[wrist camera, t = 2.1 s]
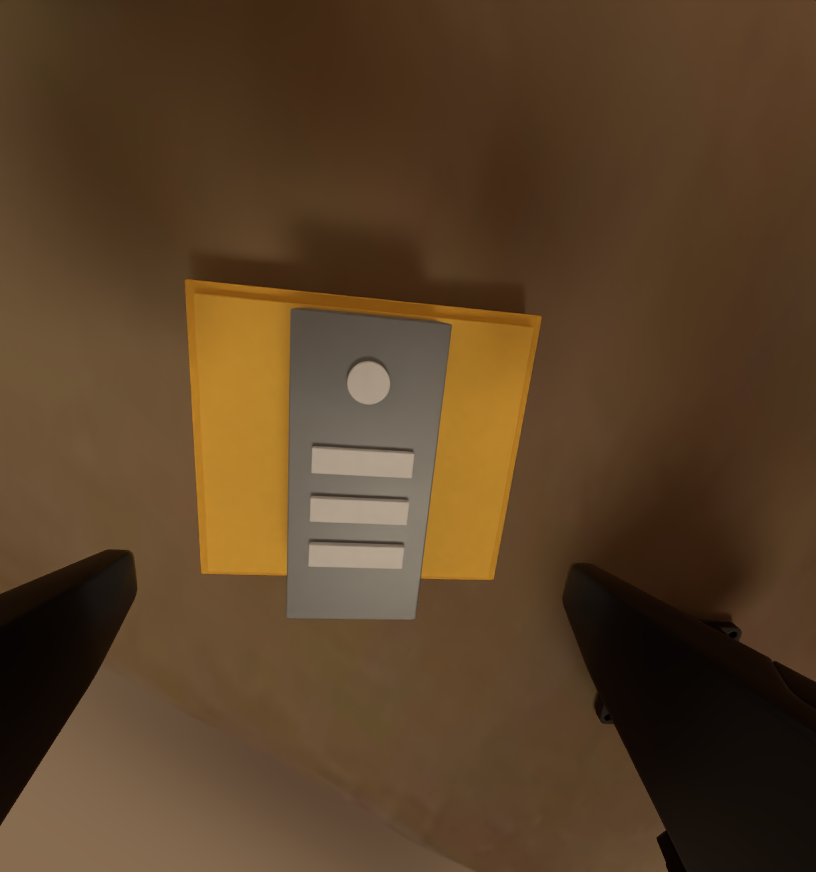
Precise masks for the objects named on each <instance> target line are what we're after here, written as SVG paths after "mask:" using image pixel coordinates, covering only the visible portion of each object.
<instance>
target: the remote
mask: <svg viewBox="0 0 816 872" xmlns="http://www.w3.org/2000/svg"><path fill="white" fill-rule="evenodd" d="M451 330H452V325H451V324H448V323H444V322H440V321H436V320H426V319H416V318H406V317H396V316H386V315H375V314H365V313H355V312H345V311H335V310H325V309H315V308H293V309H291V310H290V375H289V450H288V524H287V598H286V618H288V619H384V620H415V619H416V612H417V604H418V596H419V588H420V580H421V572H422V564H423V556H424V548H425V540H426V532H427V524H428V516H429V508H430V500H431V492H432V484H433V476H434V467H435V459H436V451H437V443H438V435H439V427H440V419H441V411H442V403H443V395H444V387H445V379H446V371H447V363H448V355H449V347H450V339H451Z"/></svg>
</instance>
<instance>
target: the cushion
mask: <svg viewBox="0 0 816 872" xmlns="http://www.w3.org/2000/svg"><path fill="white" fill-rule="evenodd" d="M185 293H186V311H187V328H188V346H189V364H190V381H191V399H192V417H193V434H194V452H195V469H196V487H197V505H198V522H199V540H200V558H201V573H202V574H243V575H287V524H288V450H289V375H290V310H291V309H293V308H315V309H325V310H335V311H345V312H355V313H365V314H375V315H386V316H396V317H406V318H416V319H426V320H436V321H440V322H444V323H448V324H451V325H452V330H451V339H450V347H449V355H448V363H447V371H446V379H445V387H444V395H443V403H442V411H441V419H440V427H439V435H438V443H437V451H436V459H435V467H434V476H433V484H432V492H431V500H430V508H429V516H428V524H427V532H426V540H425V548H424V556H423V564H422V572H421V578H425V579H470V580H493V579H494V574H495V569H496V563H497V558H498V553H499V547H500V542H501V536H502V531H503V526H504V520H505V515H506V509H507V504H508V498H509V493H510V488H511V482H512V477H513V471H514V466H515V460H516V455H517V450H518V444H519V439H520V433H521V428H522V422H523V417H524V412H525V406H526V401H527V395H528V390H529V385H530V379H531V374H532V368H533V363H534V357H535V352H536V347H537V341H538V336H539V330H540V325H541V319H542V316H539V315H529V314H519V313H510V312H500V311H490V310H480V309H471V308H461V307H451V306H442V305H432V304H422V303H413V302H403V301H393V300H384V299H374V298H364V297H355V296H345V295H335V294H325V293H316V292H306V291H296V290H287V289H277V288H267V287H258V286H248V285H238V284H229V283H219V282H209V281H200V280H190V279H186V280H185Z"/></svg>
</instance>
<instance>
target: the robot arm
mask: <svg viewBox="0 0 816 872" xmlns="http://www.w3.org/2000/svg"><path fill="white" fill-rule="evenodd" d="M136 593H137V579H136V570H135V561H134V555H133V553H132V552H131V551H129V550H113V549H109V550H105V551H102V552H100V553H98V554H95V555H93V556H90V557H88V558H86V559H83V560H81V561H78V562H76V563H74V564H71V565H69V566H66V567H64V568H62V569H59V570H57V571H54V572H52V573H50V574H47V575H45V576H42V577H40V578H38V579H35V580H33V581H30V582H28V583H26V584H23V585H21V586H18V587H16V588H14V589H11V590H9V591H6V592H4V593H2V594H0V825H1V824H2V822H3V821H4V819H5V817H6V816H7V814H8V813H9V811H10V809H11V808H12V806H13V805H14V803H15V802H16V800H17V799H18V797H19V795H20V794H21V792H22V791H23V789H24V787H25V786H26V784H27V783H28V781H29V780H30V778H31V777H32V775H33V773H34V772H35V770H36V769H37V767H38V766H39V764H40V762H41V761H42V759H43V758H44V756H45V755H46V753H47V751H48V750H49V748H50V747H51V745H52V744H53V742H54V740H55V739H56V737H57V736H58V734H59V733H60V731H61V729H62V728H63V726H64V725H65V723H66V722H67V720H68V718H69V717H70V715H71V714H72V712H73V710H74V709H75V707H76V706H77V704H78V703H79V701H80V699H81V698H82V696H83V695H84V693H85V692H86V690H87V689H88V687H89V685H90V684H91V682H92V680H93V679H94V677H95V675H96V674H97V672H98V670H99V668H100V666H101V664H102V663H103V661H104V659H105V657H106V655H107V653H108V651H109V649H110V647H111V645H112V643H113V641H114V639H115V637H116V635H117V633H118V631H119V629H120V627H121V625H122V623H123V621H124V619H125V617H126V615H127V613H128V611H129V609H130V607H131V605H132V603H133V601H134V599H135V596H136ZM562 600H563V606H564V609H565V611H566V614H567V617H568V619H569V622H570V625H571V627H572V630H573V633H574V635H575V638H576V640H577V643H578V646H579V648H580V651H581V654H582V656H583V659H584V662H585V664H586V666H587V669H588V671H589V674H590V676H591V678H592V680H593V682H594V684H595V686H596V688H597V691H598V693H599V695H600V699H599V703H598V706H597V709H596V714H597V716H598V718H599V719H600V721H601V722H602V723H603V724H614V725H615V727H616V729H617V731H618V733H619V735H620V737H621V739H622V741H623V743H624V745H625V747H626V749H627V751H628V753H629V755H630V758H631V760H632V762H633V764H634V766H635V768H636V770H637V772H638V774H639V776H640V778H641V780H642V782H643V784H644V786H645V788H646V790H647V792H648V794H649V796H650V798H651V800H652V802H653V804H654V806H655V808H656V810H657V812H658V814H659V816H660V818H661V820H662V823H663V825H664V827H665V829H666V831H664V832H663V833H662V834H660V835H659V836H658V837H657V841H658V844H659V846H660V849H661V851H662V854H663V856H664V859H665V861H666V867H667V869H668V872H816V682H815V681H813V680H811V679H809V678H807V677H805V676H803V675H801V674H799V673H797V672H795V671H794V670H792V669H790V668H788V667H786V666H784V665H782V664H780V663H778V662H776V661H773V662H772V660H771V659H770V658H769V657H767V656H765V655H763V654H761V653H759V652H757V651H756V650H754V649H752V648H750V647H748V646H746V645H744V644H742V643H740V642H739V639H740V637H741V633H742V632H741V630H740V629H739V628H738V627H737V626H736V625H735V624H733V623H732V622H701V621H699V620H697V619H695V618H693V617H691V616H689V615H687V614H685V613H684V612H682V611H680V610H678V609H676V608H674V607H672V606H670V605H668V604H667V603H665V602H663V601H661V600H659V599H657V598H655V597H653V596H651V595H650V594H648V593H646V592H644V591H642V590H640V589H638V588H636V587H634V586H632V585H631V584H629V583H627V582H625V581H623V580H621V579H619V578H617V577H615V576H614V575H612V574H610V573H608V572H606V571H604V570H602V569H600V568H598V567H597V566H595V565H593V564H589V563H573V564H572V565H571V566H570V567H569V570H568V574H567V578H566V582H565V586H564V590H563V596H562Z"/></svg>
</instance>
